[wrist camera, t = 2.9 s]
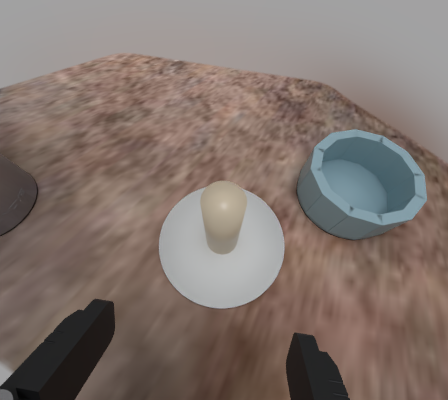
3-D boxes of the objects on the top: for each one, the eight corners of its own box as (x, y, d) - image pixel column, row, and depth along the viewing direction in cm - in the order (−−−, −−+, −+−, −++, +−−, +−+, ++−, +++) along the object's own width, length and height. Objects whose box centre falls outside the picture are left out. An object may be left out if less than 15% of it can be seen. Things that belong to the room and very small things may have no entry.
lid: (139, 281, 22) (85, 262, 13) (188, 177, 28) (174, 113, 19) (266, 329, 21) (302, 342, 12) (292, 207, 26) (330, 154, 17)
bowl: (289, 222, 25) (304, 202, 21) (304, 149, 30) (319, 120, 25) (390, 253, 24) (430, 239, 19) (389, 171, 29) (421, 145, 24)
